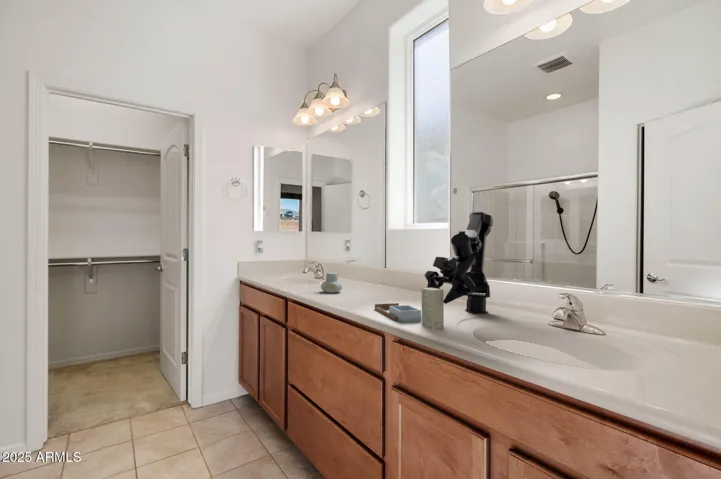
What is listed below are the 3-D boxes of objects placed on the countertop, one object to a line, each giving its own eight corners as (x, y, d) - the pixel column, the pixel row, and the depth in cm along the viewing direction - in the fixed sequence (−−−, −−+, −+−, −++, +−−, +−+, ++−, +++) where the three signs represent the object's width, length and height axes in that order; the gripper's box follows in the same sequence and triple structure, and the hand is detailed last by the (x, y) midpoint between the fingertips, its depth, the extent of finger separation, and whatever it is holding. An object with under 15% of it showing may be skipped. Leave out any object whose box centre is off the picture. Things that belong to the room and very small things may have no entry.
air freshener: (343, 291, 184) (343, 272, 184) (340, 294, 176) (341, 274, 176) (322, 290, 185) (323, 271, 185) (319, 293, 177) (319, 273, 177)
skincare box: (444, 328, 110) (444, 289, 110) (432, 329, 108) (433, 290, 108) (431, 324, 116) (432, 287, 116) (420, 325, 113) (421, 287, 114)
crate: (408, 315, 128) (408, 305, 128) (420, 321, 118) (421, 310, 118) (389, 316, 125) (389, 305, 125) (400, 322, 116) (400, 311, 116)
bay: (397, 309, 140) (397, 303, 140) (421, 320, 121) (421, 313, 121) (374, 310, 137) (374, 303, 137) (394, 321, 118) (395, 314, 118)
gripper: (429, 247, 123) (402, 280, 117) (469, 249, 106) (441, 287, 101) (445, 269, 127) (421, 302, 121) (487, 274, 110) (460, 312, 105)
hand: (434, 300), depth 112 cm, fingers open, 9 cm apart
